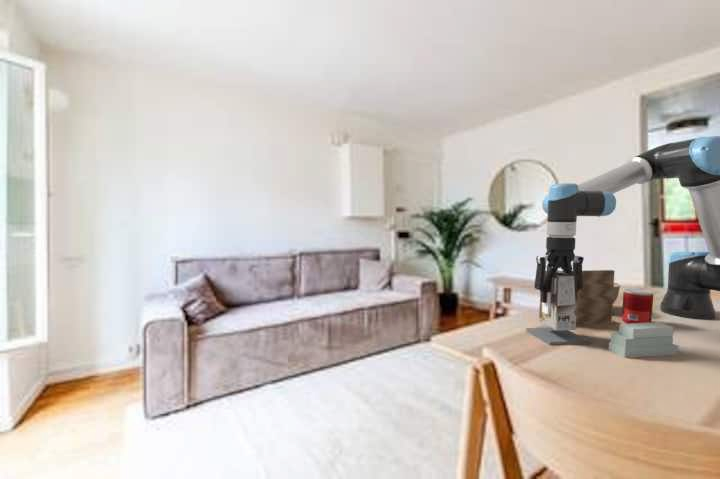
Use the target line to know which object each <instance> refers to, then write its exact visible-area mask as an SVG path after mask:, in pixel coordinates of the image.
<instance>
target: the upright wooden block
mask: <svg viewBox="0 0 720 479" xmlns="http://www.w3.org/2000/svg"><path fill="white" fill-rule="evenodd" d="M561 271H562V272H563V270H561ZM572 273H573V270H572ZM582 280H583V288H582V289H581V290H580V289H579V291H578V292H577V312H576V325H592V324H593V325H594V324H595V325H598V324H599V325H600V324H612V319H613V318H612V317H613V305H614V303H613V288H614V282H615V270H614V269H599V270H598V269H597V270H596V269H594V270H591V269H590V270H589V269H588V270H582ZM612 304H613V305H612Z"/></svg>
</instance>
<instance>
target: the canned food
mask: <svg viewBox="0 0 720 479" xmlns="http://www.w3.org/2000/svg"><path fill="white" fill-rule="evenodd" d="M653 303H654V291H651V290H647V289H641V288H624V289H623V294H622V306H621V307H622V310H621V319H622V322H623V323H624V324H630V323H652V320H653V305H654V304H653Z"/></svg>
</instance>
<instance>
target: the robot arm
mask: <svg viewBox="0 0 720 479" xmlns="http://www.w3.org/2000/svg"><path fill="white" fill-rule="evenodd" d="M665 179H678V181H679V184H680V187H681V188H684V189H686V190H688V192H689V195H690V197H691V198H690V199H691V201H692V205H693V207H694V210H695V213H696V217H697V220H698V223H699V226H700V228H701V231H702V235H703V239H704V241H705V245H706V247H707V250H708V251H675V252H673V253H671V254H670V256H669V262H668V277H667V278H668V279H667V289H666V292H665V294H664V297H663V298H662V301H661V302H660V305H659V310H660V311H661V312H663V313H665V314H668V315H673V316H677V317H683V318H690V319H696V320H697V319H698V320H712V319H716V309H715V308H714V303H713V300H712V298H711V291H715V292H720V135H713V136H712V135H711V136H699V137H696V138H691V139H686V140H681V141H675V142H669V143H666V144H661V145H659V146H656V147H654V148H652V149H649V150H646V151H645V152H642V153H640V154H637V155H636V156H634V157H631V158H629V159H628V160H627V161H626V162H625V164H623V165H619V166H618V167H616V168H613V169H611V170H608V171H607V172H603V173H601V174H599V175H597V176H595V177H593V178H591V179H588V180H586V181H583V182H581V183H579V184H577V183H553V184H551V185H550V186H549V188H548V193H547V195H545V196H544V198H543V200H542V202H541V205H542V206H541V207H542V210H543V211H544V213H545V214H547V219H546V220H547V221H546V235H547V237H546V241H545V243H546V244H545V249H546V252H545V255H541V256H539V255H537V256H536V257H535V258H536V259H535V260H536V271H535V280H534V289H535V290H539V292H540V291H541V297H540V296H539V301H540V300H541V302H543V303H542V312H543V313H546V314H550V304H551V293H550V292H548V291H549V288H550V286H551V277H552V274H555V272H556V271H559V269H561V271H563V272H564V273H568V274H574V275H577V276H578V290H577V292H578V291H579V289H580V290H581V289H582V288H583V280H582V271H583V263H584V260H585V259H584V258H585V257H584V256H580V255H576V254H575V253H574V251H575V249H576V238H575V236H576V234H577V233H576V232H577V221H578V220H577V219H578V217H607V216H609V215H611V214H613V212H614V211H615V210H616V207H617V198H616V196H615V195H614V194H616V193H618V192H620V191H622V190H624V189H627V188H630V187H633V185H638V184H639V185H642V184H643V185H644V184H647V183H648V182H652V181H658V180H665ZM545 271H546V273H545ZM572 271H573V273H572Z"/></svg>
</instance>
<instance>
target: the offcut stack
mask: <svg viewBox="0 0 720 479" xmlns="http://www.w3.org/2000/svg"><path fill="white" fill-rule="evenodd" d="M673 342H674V326H672V325H667V324H666V323H662V322H659V321H658V322H657V321H656V322H655V321H654V322H652V321H651V323H630V324H628V323H619V329H618V332H611V333H610V341H609V342H608V351H611V352H612V353H614V354H616V355H618V356H620V357H622V358H639V357H654V356H657V357H658V356H667V355H668V356H671V355H679V345H677V344H675V343H673Z"/></svg>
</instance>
